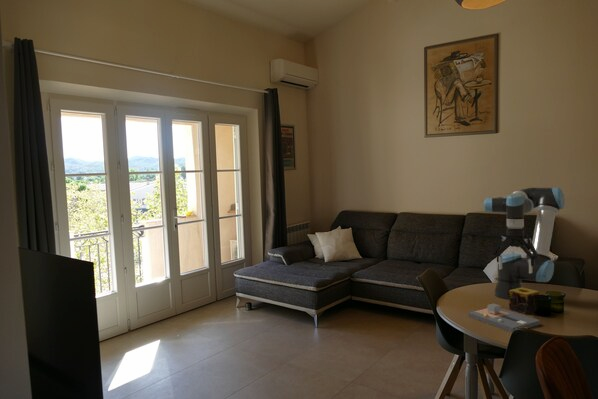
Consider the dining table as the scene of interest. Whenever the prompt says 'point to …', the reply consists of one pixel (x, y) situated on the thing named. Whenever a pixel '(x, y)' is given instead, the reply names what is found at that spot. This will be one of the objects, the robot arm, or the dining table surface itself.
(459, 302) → the dining table surface
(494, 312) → the breaker slider
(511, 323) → the breaker panel
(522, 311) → the brown and yellow box
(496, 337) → the dining table surface
